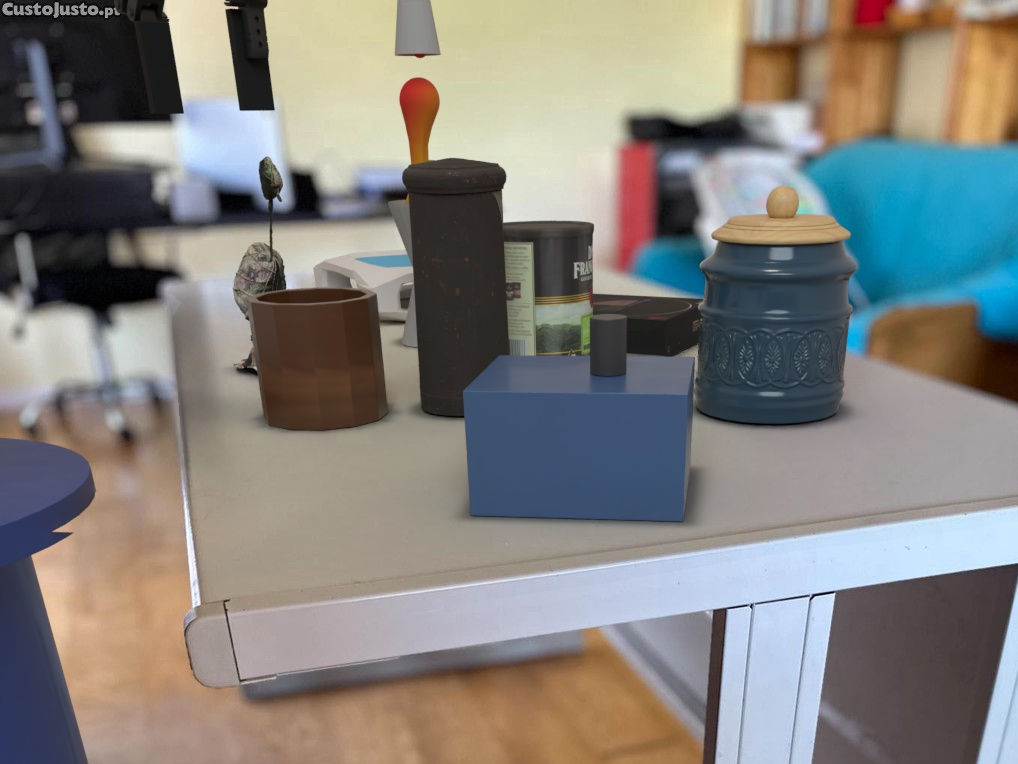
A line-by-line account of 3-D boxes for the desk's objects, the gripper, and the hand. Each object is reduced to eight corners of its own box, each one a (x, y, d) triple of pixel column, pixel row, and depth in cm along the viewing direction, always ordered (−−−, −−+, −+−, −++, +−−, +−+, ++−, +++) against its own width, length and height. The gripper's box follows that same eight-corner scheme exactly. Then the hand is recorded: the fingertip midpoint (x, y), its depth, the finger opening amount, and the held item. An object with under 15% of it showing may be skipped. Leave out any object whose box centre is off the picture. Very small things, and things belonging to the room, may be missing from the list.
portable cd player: (585, 327, 137) (584, 293, 135) (714, 335, 130) (716, 299, 128) (524, 349, 124) (523, 312, 122) (664, 359, 117) (665, 320, 115)
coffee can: (601, 369, 113) (601, 219, 106) (585, 390, 104) (584, 228, 97) (505, 367, 115) (499, 219, 108) (481, 388, 106) (473, 228, 99)
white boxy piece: (448, 290, 169) (446, 246, 166) (522, 313, 147) (521, 263, 144) (315, 301, 161) (310, 255, 158) (372, 327, 139) (367, 274, 136)
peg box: (470, 515, 72) (458, 331, 66) (503, 466, 82) (496, 302, 76) (683, 521, 70) (690, 332, 64) (690, 470, 80) (697, 303, 74)
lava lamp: (456, 349, 125) (432, -24, 107) (386, 345, 127) (352, -18, 110) (487, 336, 132) (470, -15, 114) (421, 333, 135) (394, -10, 117)
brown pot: (247, 429, 93) (227, 304, 88) (290, 401, 103) (274, 287, 98) (366, 431, 92) (353, 304, 87) (399, 403, 101) (389, 287, 96)
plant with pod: (305, 356, 123) (279, 154, 113) (318, 375, 113) (290, 156, 103) (231, 362, 120) (198, 156, 110) (238, 381, 111) (202, 158, 101)
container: (532, 401, 101) (525, 155, 91) (482, 422, 94) (468, 159, 84) (453, 393, 104) (438, 156, 94) (399, 413, 97) (377, 160, 87)
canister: (664, 412, 96) (671, 188, 87) (742, 387, 104) (756, 180, 96) (795, 434, 89) (817, 191, 80) (867, 405, 97) (894, 183, 88)
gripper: (303, -259, 73) (340, 108, 83) (121, -190, 88) (172, 114, 98) (203, -284, 68) (257, 109, 79) (29, -207, 83) (94, 115, 94)
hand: (210, 113), depth 89 cm, fingers open, 13 cm apart
